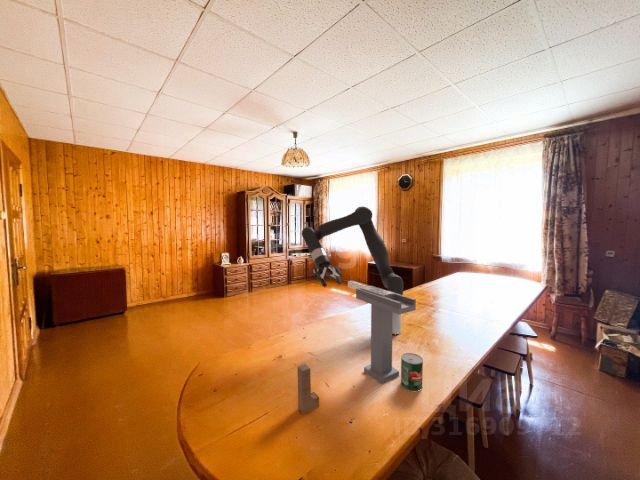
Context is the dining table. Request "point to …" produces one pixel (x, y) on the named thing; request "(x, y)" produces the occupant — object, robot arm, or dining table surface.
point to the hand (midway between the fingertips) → (333, 285)
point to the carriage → (371, 289)
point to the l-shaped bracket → (306, 390)
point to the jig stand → (383, 331)
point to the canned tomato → (411, 371)
